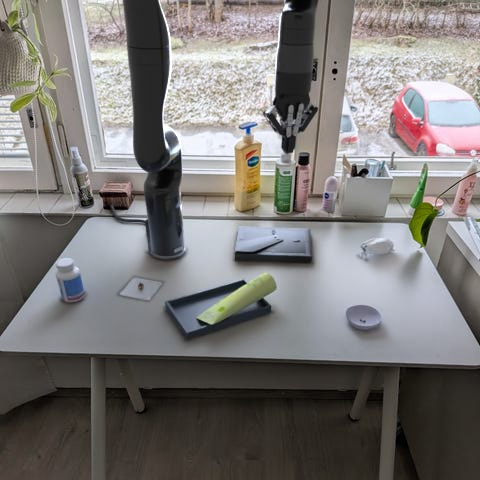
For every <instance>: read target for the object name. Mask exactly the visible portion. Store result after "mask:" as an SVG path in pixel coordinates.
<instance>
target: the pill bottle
mask: <svg viewBox="0 0 480 480" xmlns="http://www.w3.org/2000/svg"><path fill="white" fill-rule="evenodd" d="M55 266H56V269H57V270H56V271H55V278H56V281H57V285H58V289H59V292H60V296H61V298H62V300H63V301H64V302H66V303H76V302H79V301H81V300H82V299H84V297H85V295H86V294H85V289H84V284H83V279H82V275H81V272H80V268H78V267H77V266H76V264H75V261H74V259H73V258H70V257H63V258H60V259H58V260H56V262H55Z"/></svg>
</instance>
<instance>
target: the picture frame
mask: <svg viewBox="0 0 480 480" xmlns="http://www.w3.org/2000/svg"><path fill="white" fill-rule="evenodd" d="M237 229H238V230H237V235H236V242H235V246H234V261H243V262H244V261H247V262H248V261H249V262H268V263H269V262H272V263H273V262H274V263H295V264H296V263H297V264H313V246H312V234H311V233H312V232H311V228H306V227H305V228H300V227H279V226H278V227H277V226H276V227H275V226H274V227H272V226H271V227H270V226H250V225H249V226H248V225H247V226H245V225H238V228H237Z"/></svg>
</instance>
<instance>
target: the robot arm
mask: <svg viewBox="0 0 480 480" xmlns="http://www.w3.org/2000/svg"><path fill="white" fill-rule="evenodd" d="M318 5H319V0H284V5H283V8H282V9H281V11H280V15H279V22H278V23H279V24H278V38H277V41H278V42H277V48H276V53H275V70H274V98H273V100H272V106H270V107H269V109H264V110H263V112H262V115H263V117H264V118H265V120H266V122H267V123H268V124H269V125H270V128H271V129H272V130H273V132H274V133H276V134H278V135H280V136H281V144H280V145H281V146H280V148H281V150H282V151H283V153H285V154H292V153H294V151H295V150H296V144H297V136H298V134H299V133H304V132H305V131H306V129H307V128H308V126H309V125H310V124H311V122H312V120H313V119H314V117H315V116H316V114H317V113H318V111H319V107H318V106H317V105H314V104H313V103H312V102H311V97H310V93H311V90H312V79H313V68H314V60H315V48H314V47H315V35H316V23H317V20H316V19H317V10H318ZM122 6H123V16H124V24H125V35H126V36H125V39H126V51H127V63H128V70H129V78H130V92H131V103H132V149H133V150H132V151H133V155H134V159H135V162H136V163H137V165H138V166H139V168H141V169H142V170H143V171H144V172H146V173H147V175H146V178H145V180H144V182H143V192H144V193H143V194H144V201H145V210H146V217H147V218H146V219H138V218H123V217H121V216H119V215H118V214H117V212H116V210H115V207H114V204H113V205H110V204H109V206H110V210H111V212H112V214H113V216H114V218H115V219H117V220H118V221H120V222H125V223H142V224H144V225H145V234H146V241H147V242H146V243H147V250H148V253H150V254H151V256H153V257H154V258H156V259H158V260H162V261H163V260H164V261H167V260H169V261H170V260H176V259H178V258H181V257H183V256H184V254H185V253H186V245H185V230H184V215H183V204H182V191H181V185H182V181H183V150H182V144H181V143H182V142H181V140H180V137H179V136H178V134H177V132H176V131H175V130H174V129H173V128H172V127H170V126H168V125H165V124H164V109H165V105H166V99H167V95H168V90H169V86H170V81H171V77H172V76H171V75H172V44H171V43H172V42H171V34H170V30H169V26H168V23H167V20H166V19H167V18H166V17H165V13H164V11H163V9H162V6H161V2H160V0H122ZM278 117H279V120H278V119H277V118H278Z"/></svg>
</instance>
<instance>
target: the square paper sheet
mask: <svg viewBox="0 0 480 480" xmlns="http://www.w3.org/2000/svg"><path fill="white" fill-rule="evenodd" d="M162 285H163V282H161V281H155V280H152V279H151V280H150V279H145V278H139V277H132V278H131V280H130V281H129V283H128V284H126V286H125V287H124V288H123V289H122V291H120V292H119V294H118V295H120V296H124V297H129V298H135V299H139V300H145V301H150V300H151V298H152V297H153V296H154V295H155V294H156V292H157V291H158V289H159V288H161V286H162Z"/></svg>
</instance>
